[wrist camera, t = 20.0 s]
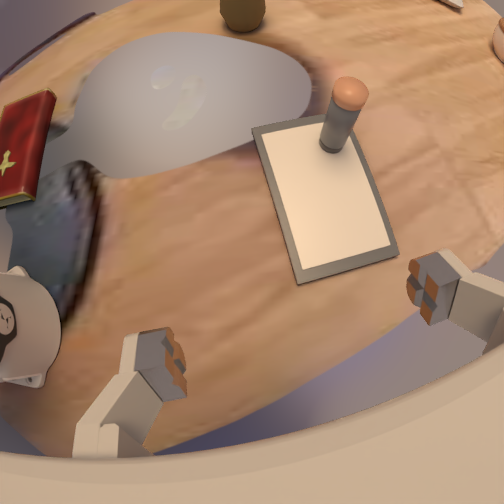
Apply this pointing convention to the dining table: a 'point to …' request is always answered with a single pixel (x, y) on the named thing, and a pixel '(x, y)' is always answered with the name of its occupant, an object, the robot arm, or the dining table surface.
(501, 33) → the lidded bowl
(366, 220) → the writing board
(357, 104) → the marker
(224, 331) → the dining table surface
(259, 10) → the squeeze bottle
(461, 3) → the salad plate
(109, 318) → the dining table surface
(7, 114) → the hardcover book
